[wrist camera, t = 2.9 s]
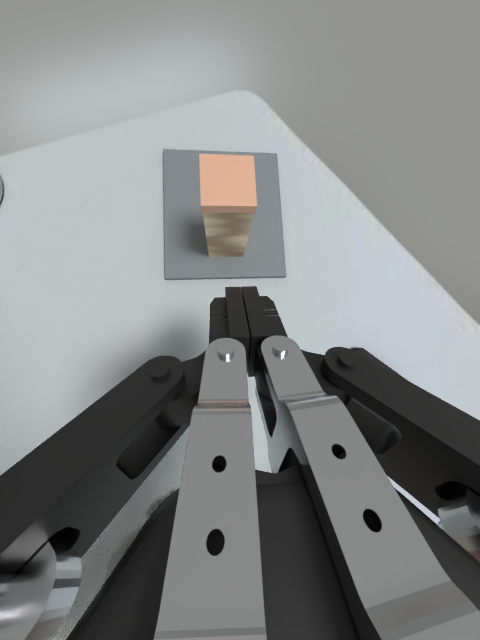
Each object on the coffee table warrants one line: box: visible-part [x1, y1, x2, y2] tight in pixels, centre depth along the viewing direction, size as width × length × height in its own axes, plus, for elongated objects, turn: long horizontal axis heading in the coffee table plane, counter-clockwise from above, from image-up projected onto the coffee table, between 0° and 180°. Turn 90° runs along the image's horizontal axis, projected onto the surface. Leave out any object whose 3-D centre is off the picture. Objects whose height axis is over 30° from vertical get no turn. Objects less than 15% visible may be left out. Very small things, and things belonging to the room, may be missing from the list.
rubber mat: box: [163, 149, 286, 280], centre depth 25 cm, size 14×16×1 cm
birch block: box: [199, 154, 257, 257], centre depth 20 cm, size 4×4×9 cm
